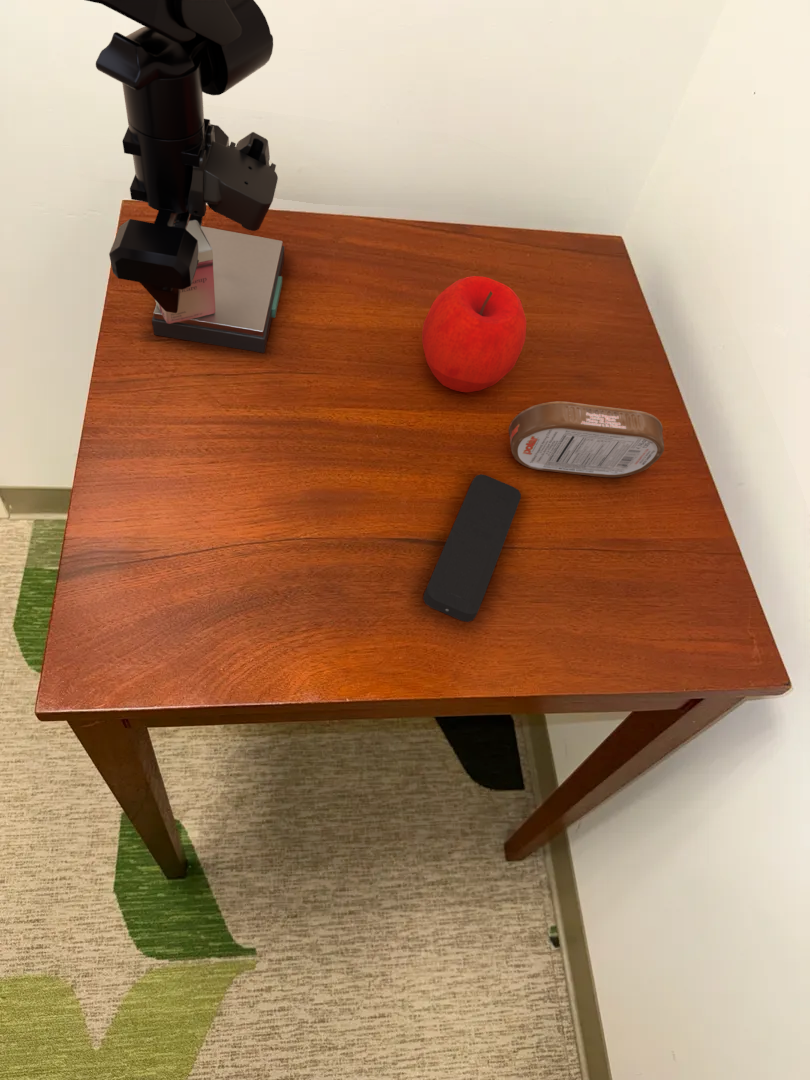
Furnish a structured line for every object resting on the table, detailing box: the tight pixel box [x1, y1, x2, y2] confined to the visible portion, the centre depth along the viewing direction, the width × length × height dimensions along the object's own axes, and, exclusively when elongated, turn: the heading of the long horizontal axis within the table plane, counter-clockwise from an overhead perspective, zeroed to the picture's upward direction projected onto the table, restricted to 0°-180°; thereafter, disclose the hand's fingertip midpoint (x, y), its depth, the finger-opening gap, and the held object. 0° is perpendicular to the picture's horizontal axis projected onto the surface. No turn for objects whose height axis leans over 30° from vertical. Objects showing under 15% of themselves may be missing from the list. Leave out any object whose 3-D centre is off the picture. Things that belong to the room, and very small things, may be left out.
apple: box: [421, 275, 528, 393], centre depth 75 cm, size 10×10×12 cm
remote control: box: [422, 474, 522, 623], centre depth 70 cm, size 5×2×15 cm
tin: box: [508, 400, 665, 479], centre depth 73 cm, size 15×3×8 cm, turn 90°
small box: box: [154, 220, 215, 324], centre depth 72 cm, size 5×4×8 cm
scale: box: [151, 225, 285, 354], centre depth 79 cm, size 11×14×3 cm
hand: (182, 276), depth 72 cm, fingers open, 9 cm apart
